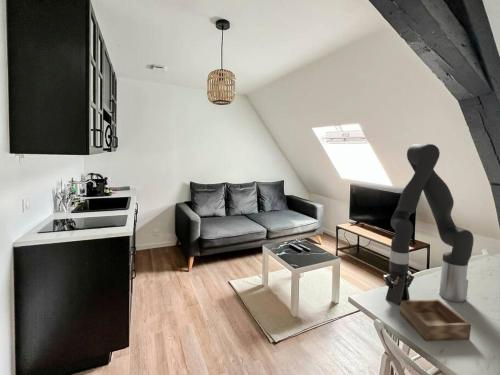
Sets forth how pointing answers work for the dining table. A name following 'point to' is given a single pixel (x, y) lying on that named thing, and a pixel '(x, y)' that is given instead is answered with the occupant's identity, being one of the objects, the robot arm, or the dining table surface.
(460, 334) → the walnut box
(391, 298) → the door stopper
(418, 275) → the dining table surface
